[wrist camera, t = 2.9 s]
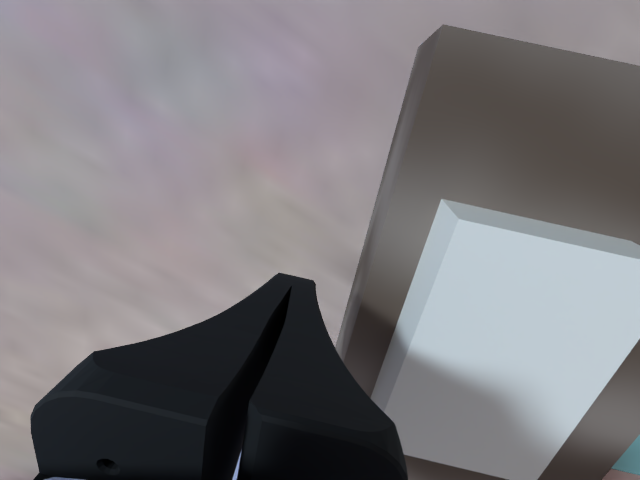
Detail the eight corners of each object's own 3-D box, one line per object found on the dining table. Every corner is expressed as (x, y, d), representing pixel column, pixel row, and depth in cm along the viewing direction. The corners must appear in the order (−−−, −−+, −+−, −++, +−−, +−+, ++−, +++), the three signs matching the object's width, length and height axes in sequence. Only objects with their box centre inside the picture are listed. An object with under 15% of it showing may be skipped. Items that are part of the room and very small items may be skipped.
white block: (510, 434, 14) (533, 485, 12) (369, 401, 14) (370, 446, 12) (631, 240, 10) (689, 270, 9) (441, 198, 11) (459, 219, 9)
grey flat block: (525, 442, 19) (564, 522, 16) (322, 394, 20) (314, 461, 16) (740, 116, 12) (904, 121, 9) (418, 47, 13) (443, 24, 9)
